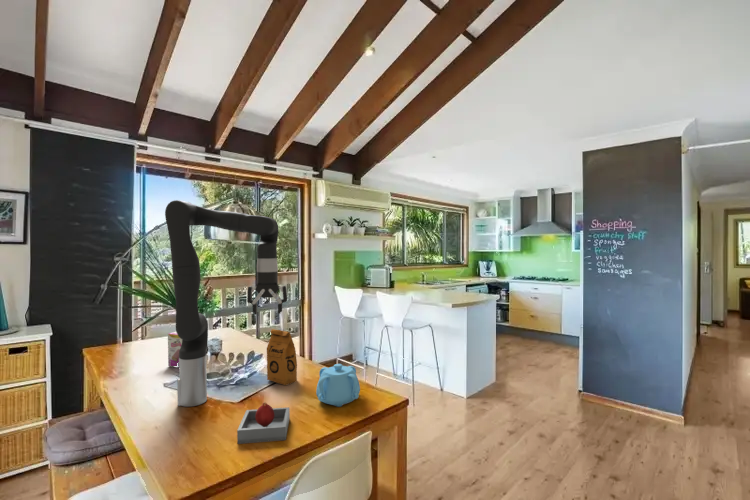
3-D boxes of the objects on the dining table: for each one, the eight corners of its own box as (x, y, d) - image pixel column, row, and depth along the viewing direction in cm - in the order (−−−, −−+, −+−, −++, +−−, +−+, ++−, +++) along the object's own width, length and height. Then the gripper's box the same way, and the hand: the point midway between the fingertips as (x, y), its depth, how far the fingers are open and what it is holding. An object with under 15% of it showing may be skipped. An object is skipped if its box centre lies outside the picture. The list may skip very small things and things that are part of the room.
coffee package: (282, 388, 157) (282, 334, 156) (263, 381, 164) (263, 330, 164) (301, 380, 165) (300, 330, 164) (282, 375, 172) (281, 326, 172)
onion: (258, 423, 124) (257, 398, 124) (276, 422, 124) (275, 398, 124) (253, 431, 118) (253, 406, 118) (272, 431, 118) (272, 405, 118)
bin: (237, 443, 113) (237, 430, 113) (246, 422, 127) (246, 410, 127) (285, 440, 115) (285, 426, 115) (289, 419, 129) (289, 407, 129)
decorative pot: (359, 409, 136) (359, 371, 136) (313, 410, 136) (313, 372, 135) (360, 392, 152) (360, 358, 152) (319, 392, 152) (319, 358, 152)
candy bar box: (167, 367, 185) (167, 333, 184) (176, 364, 189) (175, 331, 189) (185, 369, 181) (185, 335, 181) (193, 366, 186) (193, 332, 185)
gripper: (245, 271, 138) (246, 316, 138) (285, 270, 140) (286, 315, 140) (249, 270, 145) (249, 312, 146) (287, 269, 147) (287, 311, 148)
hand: (267, 313), depth 143 cm, fingers open, 8 cm apart
